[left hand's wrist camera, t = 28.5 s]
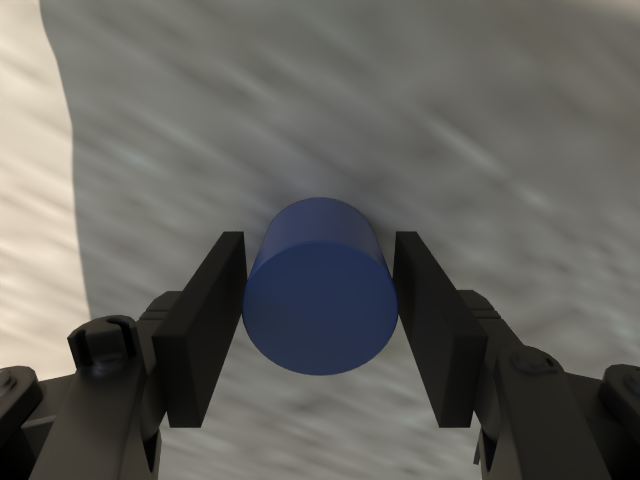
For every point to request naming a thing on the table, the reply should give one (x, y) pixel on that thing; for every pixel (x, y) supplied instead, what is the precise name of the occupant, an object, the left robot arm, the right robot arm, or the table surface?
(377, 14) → the table surface
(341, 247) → the can
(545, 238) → the table surface
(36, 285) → the table surface
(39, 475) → the left robot arm
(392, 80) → the table surface
